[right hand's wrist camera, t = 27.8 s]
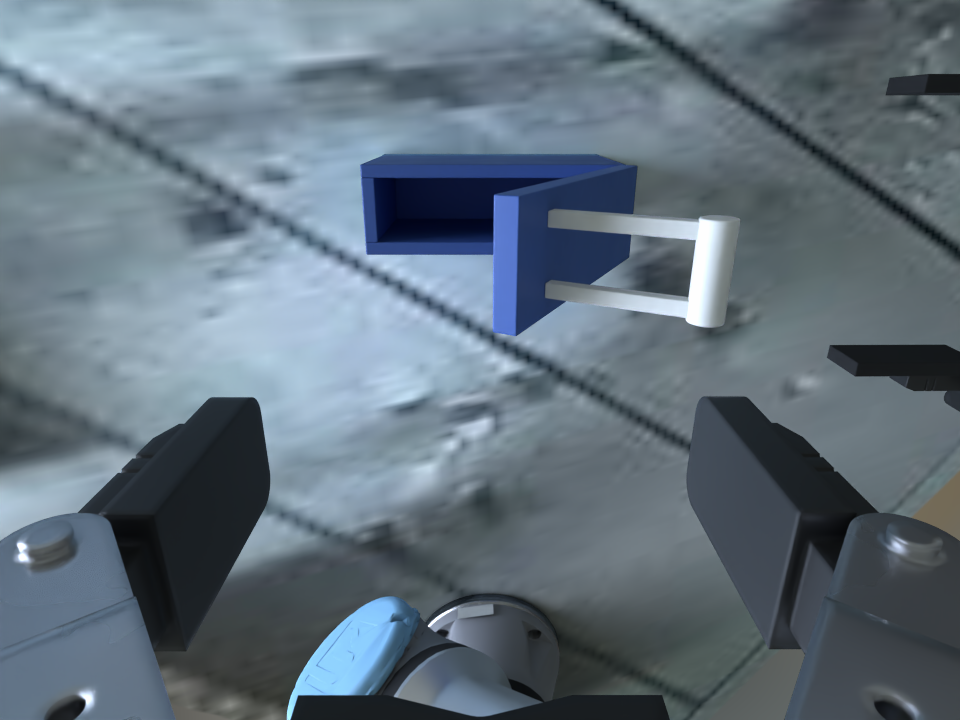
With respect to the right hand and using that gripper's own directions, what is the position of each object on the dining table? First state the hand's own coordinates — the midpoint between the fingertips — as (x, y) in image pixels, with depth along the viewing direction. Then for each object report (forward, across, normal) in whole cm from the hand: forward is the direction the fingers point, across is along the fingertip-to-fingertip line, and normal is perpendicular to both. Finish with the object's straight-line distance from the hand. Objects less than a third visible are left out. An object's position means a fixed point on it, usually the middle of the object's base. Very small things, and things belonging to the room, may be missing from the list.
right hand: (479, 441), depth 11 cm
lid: (+22, +5, 0) cm, 22 cm away
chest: (+40, +1, 0) cm, 40 cm away
